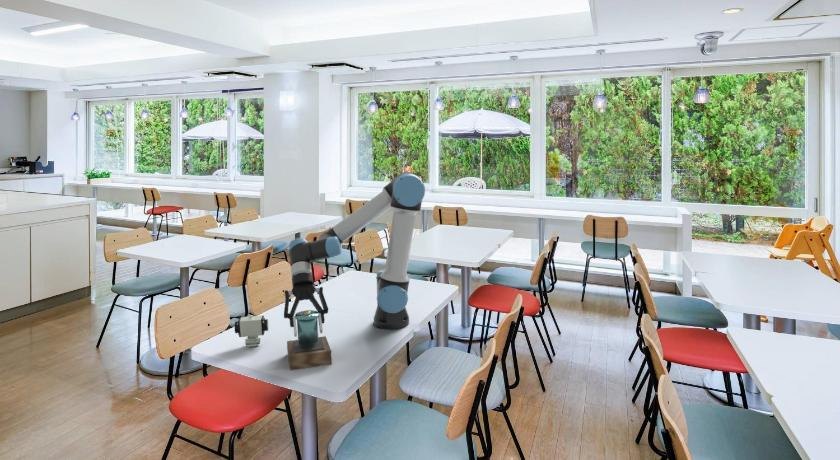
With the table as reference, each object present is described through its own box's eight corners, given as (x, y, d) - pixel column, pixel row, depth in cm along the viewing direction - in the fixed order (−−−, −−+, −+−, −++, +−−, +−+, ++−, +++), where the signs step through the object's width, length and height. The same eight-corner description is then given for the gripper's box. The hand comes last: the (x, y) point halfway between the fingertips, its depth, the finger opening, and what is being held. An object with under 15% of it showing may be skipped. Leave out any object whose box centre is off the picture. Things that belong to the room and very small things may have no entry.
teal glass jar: (318, 335, 180) (316, 307, 179) (321, 343, 173) (319, 314, 171) (295, 338, 178) (294, 309, 176) (297, 346, 171) (295, 317, 169)
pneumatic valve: (268, 346, 188) (266, 316, 186) (236, 349, 186) (233, 318, 184) (269, 341, 193) (267, 311, 191) (238, 343, 191) (236, 313, 189)
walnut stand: (326, 348, 185) (325, 335, 184) (331, 364, 172) (331, 349, 171) (287, 354, 181) (286, 340, 180) (290, 370, 168) (289, 355, 167)
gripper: (329, 279, 190) (337, 333, 178) (273, 284, 184) (277, 341, 171) (331, 268, 184) (339, 324, 172) (272, 274, 178) (277, 332, 165)
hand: (308, 333), depth 172 cm, fingers closed on teal glass jar, 8 cm apart
